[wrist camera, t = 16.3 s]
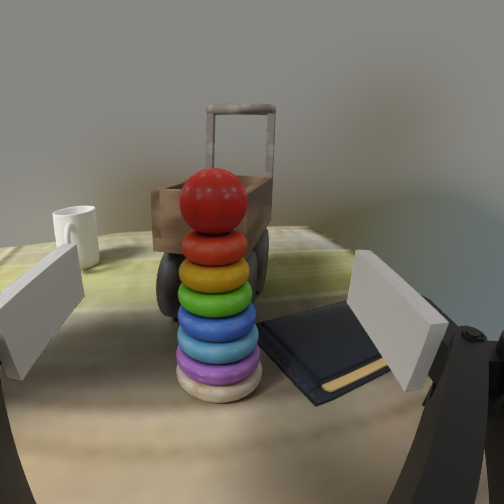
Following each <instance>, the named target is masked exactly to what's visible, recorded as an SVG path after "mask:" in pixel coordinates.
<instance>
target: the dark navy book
mask: <svg viewBox="0 0 504 504" xmlns="http://www.w3.org/2000/svg"><path fill="white" fill-rule="evenodd" d="M255 325H256V326H257V329H258V334H259V337H258V342H257V344H258V345H259V346H260V347H261V348H262V349H263V350H264V351H265V353H266V354H267V355H268V356H269V357H270V358H271V359H272V360H273V361H274V362H275V363H276V364H277V366H278V367H279V368H280V369H281V370H282V371H283V372H284V373H285V375H286V376H287V377H288V378H289V379H290V380H291V381H292V382H293V383H294V385H295V386H296V387H297V388H298V389H299V390H300V391H301V392H302V393H303V394H304V395H305V396H306V397H307V398H308V399H309V400H310V401H311V402H312V403H313V404H314V405H315V406H319V405H322V404H324V403H327V402H329V401H332V400H334V399H336V398H338V397H340V396H342V395H344V394H346V393H348V392H350V391H352V390H354V389H356V388H358V387H360V386H362V385H364V384H366V383H368V382H370V381H372V380H374V379H376V378H378V377H380V376H381V375H383V374H385V373H387V372H389V371H391V369H390V368H389V366H388V365H387V363H386V362H385V360H384V358H383V357H382V355H381V354H380V352H379V351H378V349H377V348H376V346H375V344H374V343H373V341H372V340H371V338H370V337H369V335H368V334H367V332H366V331H365V329H364V328H363V326H362V325H361V323H360V321H359V320H358V318H357V317H356V315H355V314H354V312H353V311H352V309H351V308H350V306H349V305H348V304H347V300H346V301H343V302H339V303H335V304H332V305H328V306H324V307H320V308H317V309H313V310H309V311H305V312H301V313H297V314H293V315H289V316H285V317H281V318H277V319H273V320H268V321H264V322H260V323H257V324H255Z"/></svg>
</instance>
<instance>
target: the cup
mask: <svg viewBox="0 0 504 504" xmlns="http://www.w3.org/2000/svg"><path fill="white" fill-rule="evenodd" d="M53 221H54V230H55V238H56V245H57V248H58V247H60V246H61V245H62V244H77V250H78V258H79V265H80V270H83V269H87V268H90V267H92V266H94V265H96V264H97V263H98V261H99V258H100V256H99V246H98V237H97V227H96V215H95V207H93V206H75V207H69V208H64V209H61V210H58V211H55V212H54V213H53Z"/></svg>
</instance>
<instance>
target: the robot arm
mask: <svg viewBox="0 0 504 504" xmlns="http://www.w3.org/2000/svg"><path fill="white" fill-rule="evenodd" d="M84 297H85V295H84V289H83V283H82V277H81V271H80V265H79V258H78V250H77V244H62V245H61V246H60V247H58V248H57V249H56V250H54V251H53V252H52V253H50V254H49V255H48V256H46V257H45V258H44V259H42V260H41V261H40V262H38V263H37V264H36V265H35V266H33V267H32V268H31V269H29V270H28V271H27V272H26V273H24V274H23V275H22V276H21V277H19V278H18V279H17V280H16V281H15V282H13V283H12V284H11V285H10V286H8V287H7V288H6V289H5V290H4V291H3V292H1V293H0V365H2V367H3V369H4V371H5V374H6V376H7V377H9V378H12V379H16V380H19V381H23V379H24V378H25V376H26V375H27V373H28V372H29V370H30V369H31V367H32V366H33V364H34V363H35V362H36V360H37V359H38V357H39V356H40V354H41V353H42V352H43V350H44V349H45V347H46V346H47V345H48V343H49V342H50V341H51V339H52V338H53V337H54V335H55V334H56V333H57V331H58V330H59V329H60V327H61V326H62V325H63V323H64V322H65V321H66V319H67V318H68V317H69V315H70V314H71V313H72V312H73V310H74V309H75V308H76V307H77V305H78V304H79V303H80V301H81V300H82V299H83V298H84ZM347 304H348V305H349V306H350V308H351V309H352V311H353V312H354V314H355V315H356V317H357V318H358V320H359V321H360V323H361V325H362V326H363V328H364V329H365V331H366V332H367V334H368V335H369V337H370V338H371V340H372V341H373V343H374V344H375V346H376V348H377V349H378V351H379V352H380V354H381V355H382V357H383V358H384V360H385V362H386V363H387V365H388V366H389V368H390V369H391V371H392V373H393V374H394V376H395V377H396V379H397V381H398V382H399V384H400V386H401V387H402V389H403V390H404V392H408V391H413V390H418V389H422V388H423V385H424V383H425V381H426V379H427V377H428V375H429V377H430V378H431V379H432V381H433V384H432V386H431V388H430V390H429V392H428V394H427V396H426V398H425V400H424V402H423V404H422V405H423V406H425V407H424V410H423V414H422V417H421V420H420V423H419V426H418V429H417V432H416V435H415V437H414V440H413V443H412V446H411V448H410V451H409V454H408V456H407V459H406V461H405V464H404V466H403V469H402V471H401V474H400V476H399V478H398V480H397V483H396V485H395V487H394V489H393V492H392V494H391V496H390V498H389V500H388V502H387V504H474V503H475V499H476V494H477V490H478V485H479V479H480V474H481V468H482V461H483V454H484V449H485V457H486V466H487V476H488V489H489V504H504V331H503V332H502V334H501V337H500V339H499V341H487V337H486V336H485V335H484V334H483V333H482V332H481V331H479V330H478V329H476V328H473V327H469V326H459V327H458V326H457V325H456V324H455V323H454V322H453V321H452V320H451V319H450V318H449V317H448V316H447V315H446V314H445V313H442V311H441V310H440V309H439V308H437V306H436V305H435V304H434V303H433V302H432V301H431V300H429V299H427V298H426V297H424V296H422V295H420V294H419V293H418V292H416V291H415V290H414V289H413V288H412V287H411V286H410V285H409V284H408V283H407V282H406V281H404V280H403V279H402V278H401V277H400V276H399V275H398V274H397V273H395V272H394V271H393V270H392V269H391V268H390V267H389V266H388V265H386V264H385V263H384V262H383V261H382V260H381V259H379V258H378V257H377V256H376V255H375V254H374V253H373V252H371V251H370V250H356V252H355V258H354V264H353V270H352V276H351V281H350V287H349V292H348V298H347ZM0 504H36V502H35V500H34V497H33V495H32V492H31V490H30V487H29V485H28V482H27V479H26V476H25V474H24V471H23V468H22V465H21V462H20V459H19V456H18V453H17V449H16V446H15V443H14V439H13V435H12V432H11V428H10V424H9V420H8V416H7V411H6V407H5V402H4V397H3V392H2V386H1V380H0Z"/></svg>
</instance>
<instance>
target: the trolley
mask: <svg viewBox="0 0 504 504" xmlns="http://www.w3.org/2000/svg"><path fill="white" fill-rule="evenodd" d="M206 111H207V129H206V169H209V168H214V143H215V115H230V114H231V115H232V114H246V115H247V114H248V115H250V114H251V115H267V143H266V169H265V177H259V176H238V175H236V176H237V177H238V178H239V179H240V181H241V182H242V183H243V185H244V187H245V189H246V192H247V197H248V205H247V210H246V213H245V216H244V218H243V220H242V221H241V223H240V224H239V225H238V226H237V227H236V228H235V230H237V231H239V232H241V233H242V234H243V235H244V236H245V238H246V240H247V251H246V253H245V255H244V256H243V257H242V258H244V259H245V260H246V262H247V263H248V265H249V270H250V272H249V277H248V279H247V281H248V282H249V284H250V286H251V288H252V299H251V302H252V304H253V305H254V300H255V293H256V291H258V292H261V291H262V289H263V286H264V282H265V277H266V271H267V263H268V250H269V236H268V230H267V229H266V227H267V226H268V224H269V222H270V221H271V206H272V187H273V163H274V140H275V113H276V105H275V104H217V105H216V104H214V105H207V109H206ZM186 181H187V180H185V181H181V182H177V183H174V184H170V185H167V186H163V187H160V188H156V189H153V190H151V210H152V211H151V213H152V234H153V251H157V252H165V253H164V255H163V257H162V259H161V262H160V265H159V269H158V274H157V282H156V294H157V302H158V305H159V308H160V310H161V312H162V313H163V314H164V315H165V316H168V317H174V318H178V311H179V308H180V306H181V303H180V302H179V298H178V290H179V287H180V285H181V283H182V281H181V279H180V277H179V268H180V265H181V264H182V262H183V261H184V260H185V259H186V257H185V255H184V254H183V252H182V247H181V245H182V240H183V238H184V237H185V236H186V235H187V234H188V233H189V232H191V231H194V230H193V229H192V228H191V227H190V226H189V225H188V224H187V223H186V222H185V220H184V218H183V216H182V214H181V211H180V205H179V198H180V193H181V190H182V188H183V185H184V184H185V182H186Z"/></svg>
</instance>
